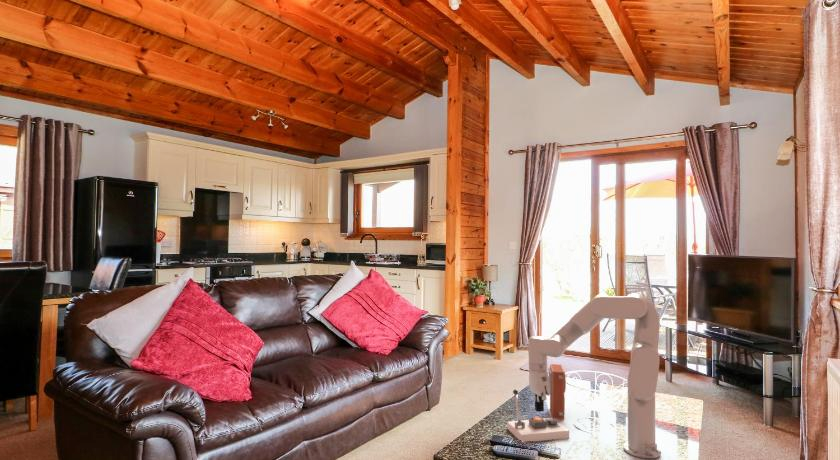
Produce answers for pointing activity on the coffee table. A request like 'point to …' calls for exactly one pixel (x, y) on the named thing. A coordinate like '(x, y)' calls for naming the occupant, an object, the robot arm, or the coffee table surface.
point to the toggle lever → (517, 408)
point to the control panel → (557, 391)
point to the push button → (537, 419)
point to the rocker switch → (552, 421)
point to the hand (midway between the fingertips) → (539, 410)
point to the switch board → (537, 430)
